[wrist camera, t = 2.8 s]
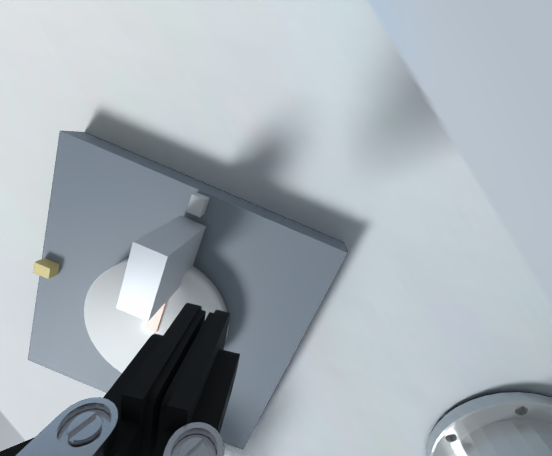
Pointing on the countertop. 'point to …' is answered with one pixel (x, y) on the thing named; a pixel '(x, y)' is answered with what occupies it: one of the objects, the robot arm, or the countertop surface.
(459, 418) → the robot arm
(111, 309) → the dial
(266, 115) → the countertop surface
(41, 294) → the panel
